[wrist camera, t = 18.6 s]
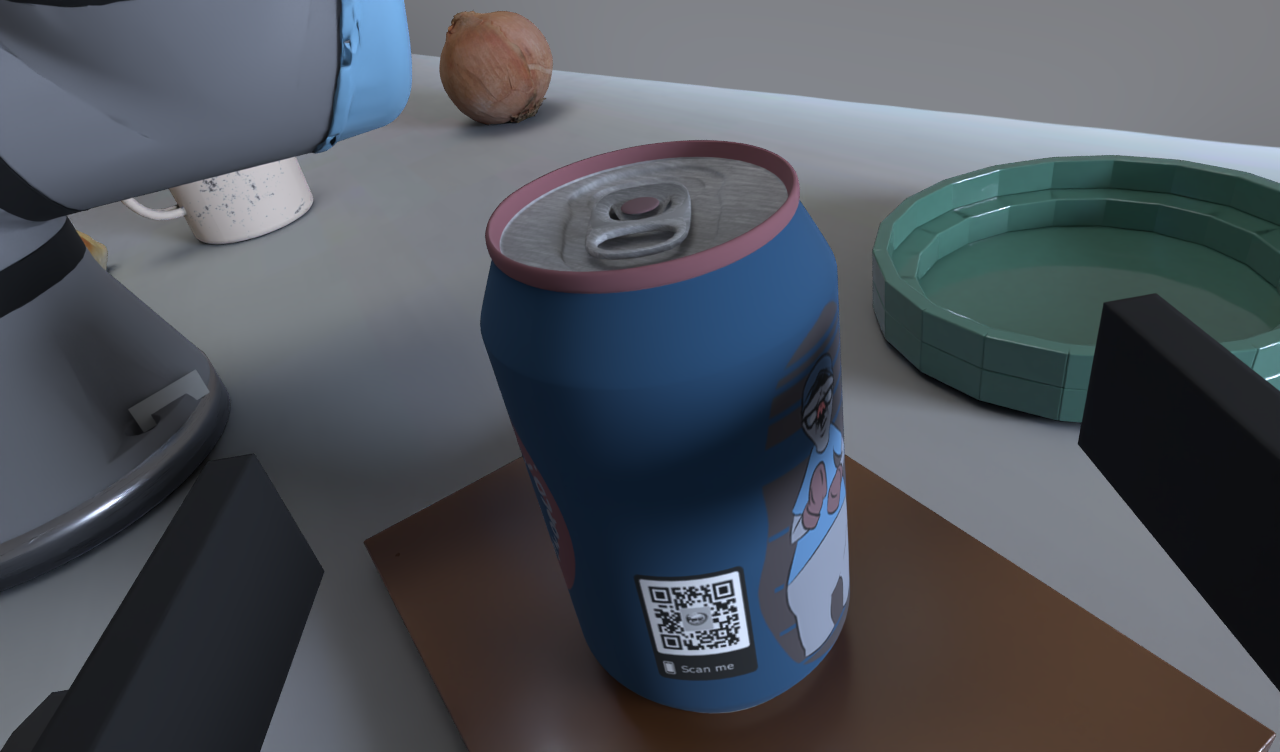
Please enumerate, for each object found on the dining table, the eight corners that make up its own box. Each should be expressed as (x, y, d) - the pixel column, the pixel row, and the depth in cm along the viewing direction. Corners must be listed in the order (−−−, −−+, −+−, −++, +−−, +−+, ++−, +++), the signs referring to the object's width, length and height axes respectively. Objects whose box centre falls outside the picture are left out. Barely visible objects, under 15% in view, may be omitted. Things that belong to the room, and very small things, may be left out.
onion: (479, 158, 71) (402, 61, 67) (553, 98, 74) (484, 1, 70) (509, 139, 63) (424, 26, 59) (593, 72, 65) (516, -40, 62)
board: (375, 565, 27) (362, 540, 26) (704, 384, 32) (700, 360, 31) (763, 1335, 12) (756, 1324, 11) (1262, 763, 17) (1277, 733, 16)
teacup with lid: (287, 187, 64) (219, 36, 57) (339, 204, 58) (270, 38, 51) (137, 250, 58) (40, 89, 51) (178, 277, 52) (75, 98, 45)
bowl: (795, 316, 35) (791, 255, 33) (1031, 189, 41) (1037, 132, 39) (1180, 508, 23) (1204, 428, 21) (1435, 289, 29) (1469, 212, 27)
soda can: (602, 531, 24) (494, 157, 18) (831, 512, 23) (809, 108, 17) (574, 747, 19) (400, 318, 12) (874, 735, 18) (868, 258, 11)
